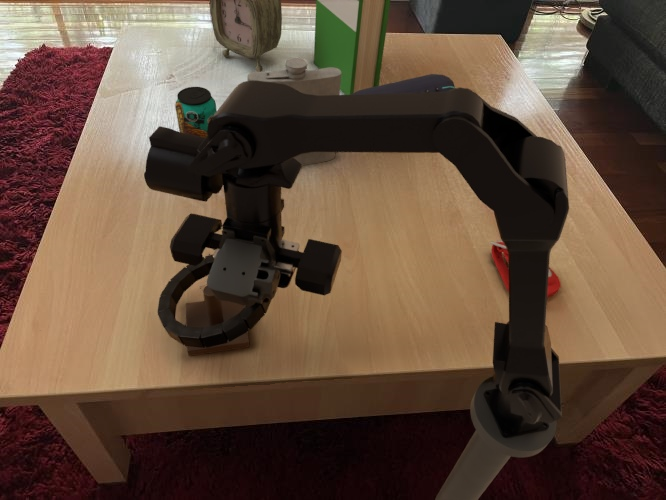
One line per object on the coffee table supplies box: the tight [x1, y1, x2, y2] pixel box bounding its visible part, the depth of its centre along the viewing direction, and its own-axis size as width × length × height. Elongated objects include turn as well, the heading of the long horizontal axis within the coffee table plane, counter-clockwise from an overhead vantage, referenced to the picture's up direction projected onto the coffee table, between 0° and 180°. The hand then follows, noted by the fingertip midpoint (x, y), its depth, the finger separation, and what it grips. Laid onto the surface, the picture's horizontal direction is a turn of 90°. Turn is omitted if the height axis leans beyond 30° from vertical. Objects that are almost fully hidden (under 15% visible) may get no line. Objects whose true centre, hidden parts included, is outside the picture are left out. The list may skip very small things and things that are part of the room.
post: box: [185, 285, 250, 357], centre depth 70 cm, size 8×8×8 cm
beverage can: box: [174, 86, 218, 137], centre depth 96 cm, size 7×7×12 cm
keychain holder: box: [489, 240, 562, 298], centre depth 81 cm, size 12×4×10 cm
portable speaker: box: [351, 73, 456, 95], centre depth 106 cm, size 25×10×10 cm, turn 118°
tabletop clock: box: [209, 0, 283, 72], centre depth 117 cm, size 14×9×25 cm, turn 53°
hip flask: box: [246, 56, 341, 166], centre depth 93 cm, size 16×4×20 cm, turn 103°
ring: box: [157, 254, 273, 348], centre depth 68 cm, size 15×15×2 cm
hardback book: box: [313, 0, 391, 95], centre depth 115 cm, size 18×7×24 cm, turn 28°
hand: (259, 298), depth 66 cm, fingers closed on ring, 2 cm apart
